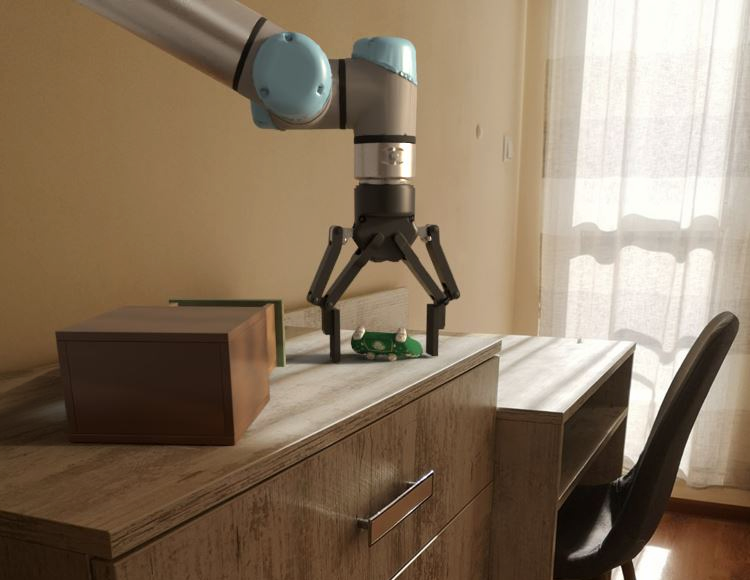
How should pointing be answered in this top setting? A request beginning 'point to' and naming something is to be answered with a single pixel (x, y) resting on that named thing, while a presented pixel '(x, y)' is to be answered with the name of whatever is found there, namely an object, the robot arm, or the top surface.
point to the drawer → (272, 317)
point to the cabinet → (165, 374)
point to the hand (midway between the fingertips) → (384, 357)
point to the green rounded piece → (385, 344)
